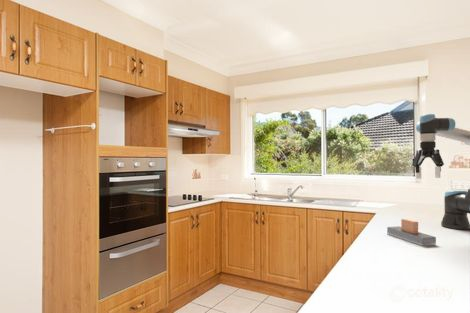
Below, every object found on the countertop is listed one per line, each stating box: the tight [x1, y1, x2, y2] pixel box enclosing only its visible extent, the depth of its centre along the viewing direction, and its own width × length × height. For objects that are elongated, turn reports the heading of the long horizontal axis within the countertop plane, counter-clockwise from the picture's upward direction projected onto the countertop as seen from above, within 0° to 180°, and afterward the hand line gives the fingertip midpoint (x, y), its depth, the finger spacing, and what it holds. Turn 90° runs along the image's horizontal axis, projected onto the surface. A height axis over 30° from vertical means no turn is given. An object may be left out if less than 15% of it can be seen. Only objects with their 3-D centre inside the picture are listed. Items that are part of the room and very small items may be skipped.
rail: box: [387, 225, 437, 247], centre depth 163 cm, size 8×24×4 cm, turn 13°
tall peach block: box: [400, 218, 419, 234], centre depth 162 cm, size 3×8×9 cm, turn 15°
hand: (428, 178), depth 177 cm, fingers open, 13 cm apart
